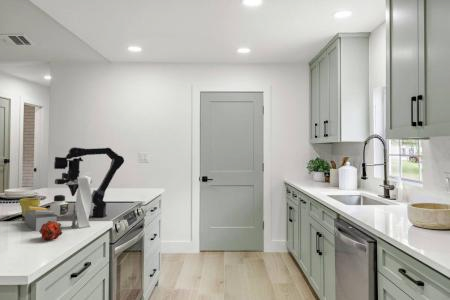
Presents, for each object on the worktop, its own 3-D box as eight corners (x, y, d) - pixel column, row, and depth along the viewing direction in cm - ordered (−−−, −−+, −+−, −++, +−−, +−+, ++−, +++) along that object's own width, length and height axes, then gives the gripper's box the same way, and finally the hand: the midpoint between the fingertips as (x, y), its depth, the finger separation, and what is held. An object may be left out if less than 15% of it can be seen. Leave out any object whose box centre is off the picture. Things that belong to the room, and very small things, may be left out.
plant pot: (43, 214, 198) (44, 198, 198) (31, 217, 188) (32, 200, 188) (27, 213, 199) (28, 197, 199) (14, 217, 189) (15, 200, 189)
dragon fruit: (53, 238, 152) (52, 249, 141) (36, 229, 148) (33, 239, 137) (65, 223, 153) (65, 233, 142) (49, 214, 149) (47, 223, 139)
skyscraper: (87, 224, 176) (89, 172, 176) (93, 227, 170) (95, 173, 170) (71, 226, 170) (73, 172, 170) (77, 229, 164) (79, 173, 164)
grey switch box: (45, 220, 181) (46, 209, 181) (57, 228, 165) (58, 215, 165) (24, 223, 174) (24, 210, 174) (34, 231, 158) (35, 217, 158)
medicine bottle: (60, 216, 194) (60, 196, 194) (49, 215, 196) (50, 195, 196) (68, 214, 201) (68, 194, 201) (57, 213, 203) (58, 194, 203)
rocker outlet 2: (51, 213, 169) (52, 211, 169) (54, 214, 166) (54, 212, 166) (34, 212, 164) (34, 209, 164) (36, 213, 161) (37, 211, 161)
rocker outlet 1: (44, 209, 179) (44, 207, 179) (46, 210, 176) (47, 208, 176) (28, 208, 173) (28, 206, 174) (30, 209, 170) (30, 207, 170)
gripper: (85, 168, 202) (84, 193, 202) (52, 168, 189) (51, 195, 189) (92, 169, 194) (91, 195, 194) (58, 169, 181) (57, 197, 181)
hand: (72, 196), depth 189 cm, fingers closed
